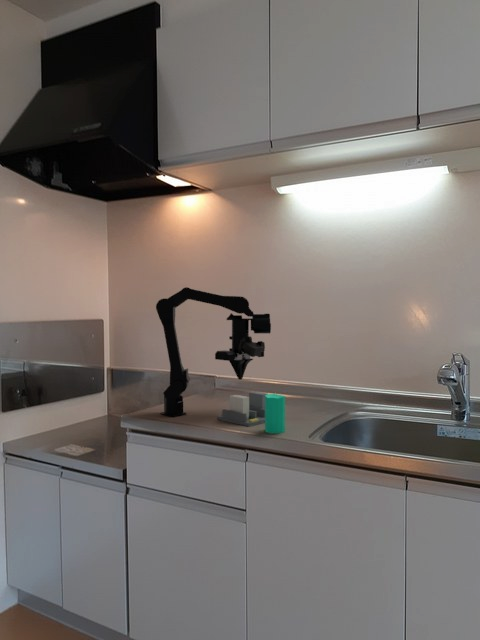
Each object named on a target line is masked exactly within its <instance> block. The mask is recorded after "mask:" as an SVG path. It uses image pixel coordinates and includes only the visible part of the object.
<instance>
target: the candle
mask: <svg viewBox="0 0 480 640" xmlns="http://www.w3.org/2000/svg"><path fill="white" fill-rule="evenodd" d="M285 423H286V396H285V395H282V394H278V393H277V394H276V393H268V394H267V395H265V423H264V431H265V432H266V433H268V434H283V433H285V432H286V424H285Z"/></svg>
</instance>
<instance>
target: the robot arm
mask: <svg viewBox="0 0 480 640" xmlns="http://www.w3.org/2000/svg"><path fill="white" fill-rule="evenodd" d="M188 300H189V301H190V300H192V301H196V302H201V303H204V304H210V305H214V306H218V307H222V308H224V309H227V310H229V311H231V312H234V313H236V314H238V315H234V314H233V313H230V314H229V315H228V317H226V321H231V336H229V340H230V341H231V348H229V349H228V350H217V351H216V352H215V354H214V359H215V360H218V361H227V362H229V364H230V365H231V366H232V368H233V371H234V373H235V375H236V378H237V380H243V379H244V378H243V377H244V375H245V371H246V369H247V366H248V364H249V363H251V361H253V360H254V358H255V357H257V358H263V357H265V349H266V346H265V342H264V341H262V340H258V341H257V342H253V338H252V336H250V335H249V333H250V332H249V331H253V334H271V329H272V324H271V314H270V313H263V314H262V313H256V314H255V313H254V311H252V309H251V308H250V302H249V300H248V299H247V298H246V297H245V296H237V295H236V296H235V295H220V294H216V293H212V292H208V291H202V290H199V289H198V290H197V289H193V288H190V287H187V286H186V287H183V288H182V289H180V290H179V291H177V292H176V293H175V294H172V295H171V296H169V297H167V298H161V299H159V300H158V301H157V302H156V304H155V310H156V312H157V315H158V318H159V320H160V322H161V324H162V327H163V333H164V338H165V344H166V349H167V355H168V356H167V357H168V360H169V361H168V362H169V367H170V370H169V385H168V387H167V386H166V388H165V389H164V391H163V402H164V403H163V405H164V406H163V409H164V410H163V411H162V412H160V415H163V416H167V417H169V418H170V417H171V418H173V417H177V416H183V415H187V412H186V411H184V396H182V394H183V393H184V392H185V391H186V389H188V388H187V387H188V386H189V382H190V381H191V378H190V377H189V376H190V375H189V368H188V367H187V368H184V366H183V364H182V363H183V362H182V358H181V353H180V352H181V351H180V346H179V341H178V336H177V335H178V334H177V330H176V329H177V328H176V308H177V307H179V306H181V305H182V304H183V303H185V302H186V301H188ZM239 314H240V315H239ZM242 314H244V315H245V316H247V317H249V318H247V317H246V318H243V315H242ZM250 317H251V318H250ZM249 325H250V326H249Z"/></svg>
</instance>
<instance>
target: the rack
mask: <svg viewBox="0 0 480 640" xmlns="http://www.w3.org/2000/svg"><path fill="white" fill-rule="evenodd" d="M267 394H269V393H267V392H261V391H249V393H248V397H249V419H247V414H245V413H241V412H236V411H231V410H230V409H225V408H224V409H223V408H222V410H221V411H222V413H221V414H222V415H217V420H219V421H223V422H228V423H232V424H237V425H240V426H246V427H253V426H257V425H260V424H261V425H262V424H265V395H267Z"/></svg>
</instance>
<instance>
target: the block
mask: <svg viewBox="0 0 480 640" xmlns="http://www.w3.org/2000/svg"><path fill="white" fill-rule="evenodd" d="M229 410H231V411H236V412H241V413H245V414H247V419H249V396H244V395H239V394H233V395H229Z"/></svg>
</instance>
